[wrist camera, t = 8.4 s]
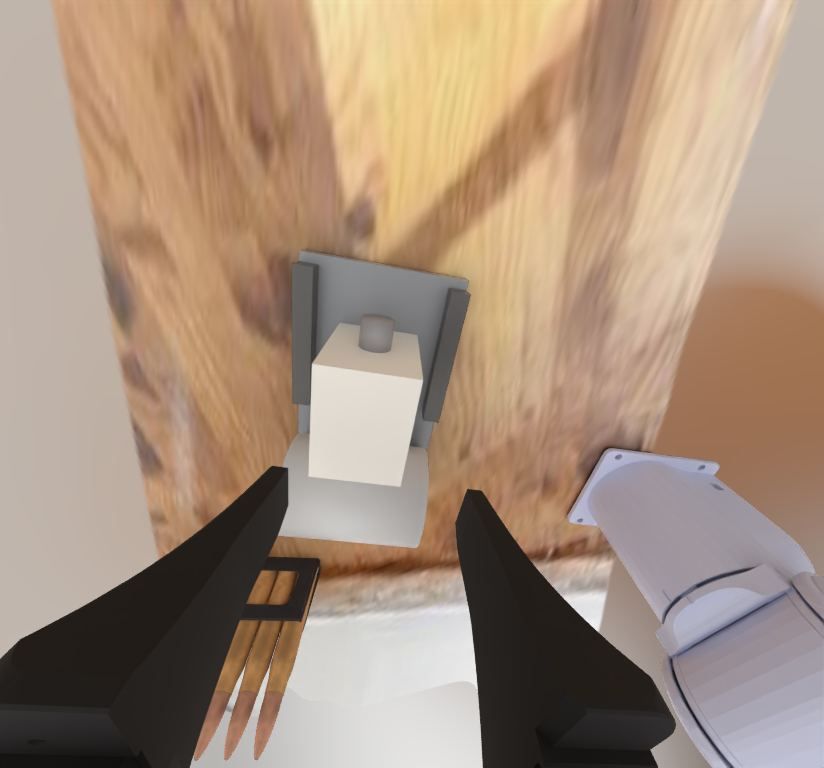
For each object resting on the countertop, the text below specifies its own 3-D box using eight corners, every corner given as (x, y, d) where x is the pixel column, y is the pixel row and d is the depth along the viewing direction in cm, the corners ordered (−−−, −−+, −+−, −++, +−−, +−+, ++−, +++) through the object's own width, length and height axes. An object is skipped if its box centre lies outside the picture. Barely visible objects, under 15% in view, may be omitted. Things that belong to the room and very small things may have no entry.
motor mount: (465, 278, 18) (499, 306, 11) (416, 484, 25) (420, 570, 18) (305, 249, 17) (246, 262, 10) (301, 471, 24) (265, 558, 18)
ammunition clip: (320, 558, 29) (270, 754, 18) (321, 570, 30) (274, 764, 19) (201, 554, 28) (77, 756, 17) (206, 567, 29) (90, 766, 18)
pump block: (421, 311, 17) (430, 348, 12) (401, 419, 21) (400, 486, 15) (341, 297, 17) (312, 330, 12) (333, 410, 20) (308, 476, 15)
